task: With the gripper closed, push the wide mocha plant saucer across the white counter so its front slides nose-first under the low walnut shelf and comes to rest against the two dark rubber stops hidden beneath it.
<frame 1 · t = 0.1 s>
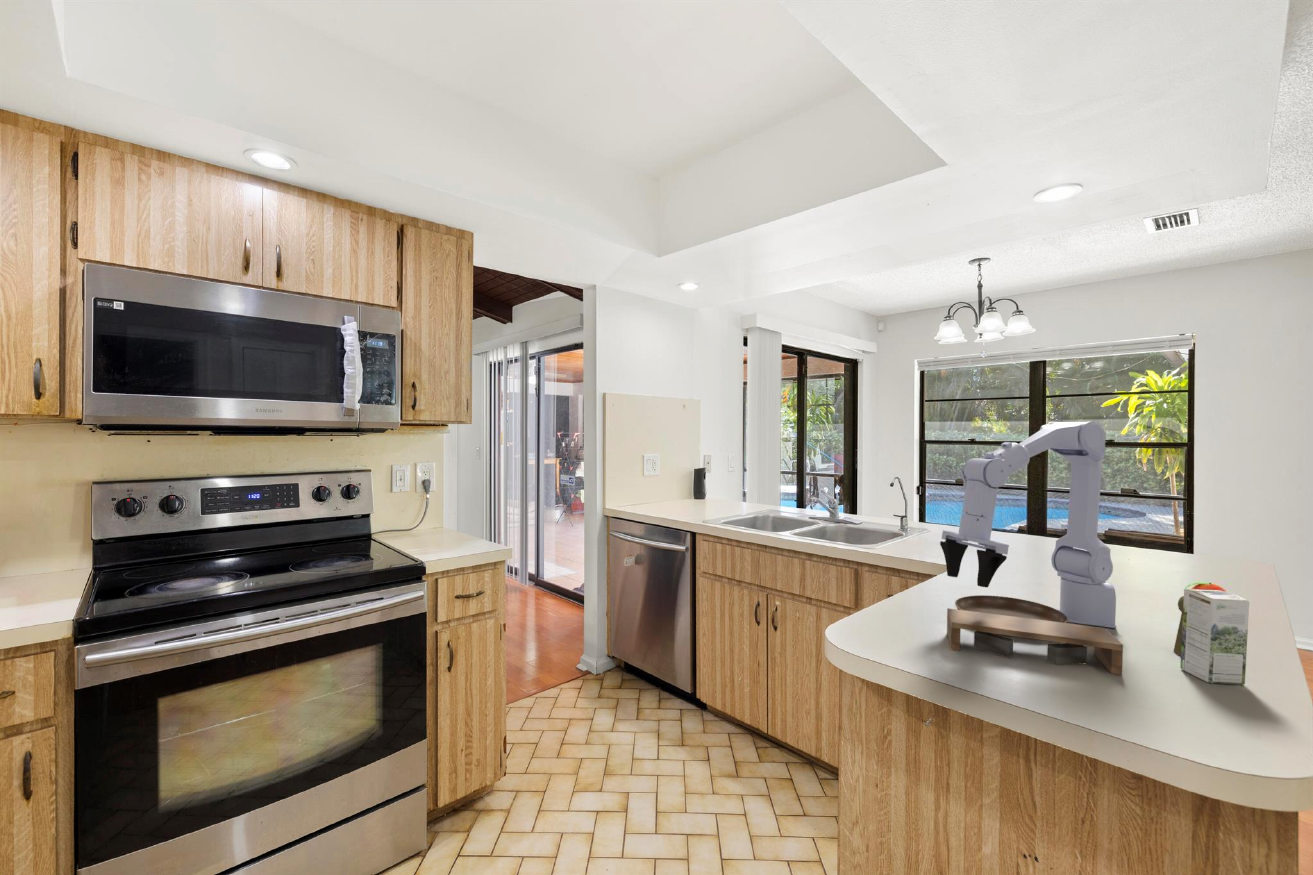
hand: (966, 581, 115), 11 cm above the countertop, tool pointing down, fingers open, 7 cm apart
walnut shelf: (1026, 652, 105), on the countertop
plant saucer: (1008, 624, 121), on the countertop
cork: (1195, 656, 104), on the countertop
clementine: (1205, 613, 130), on the countertop
syrup box: (1212, 678, 95), on the countertop
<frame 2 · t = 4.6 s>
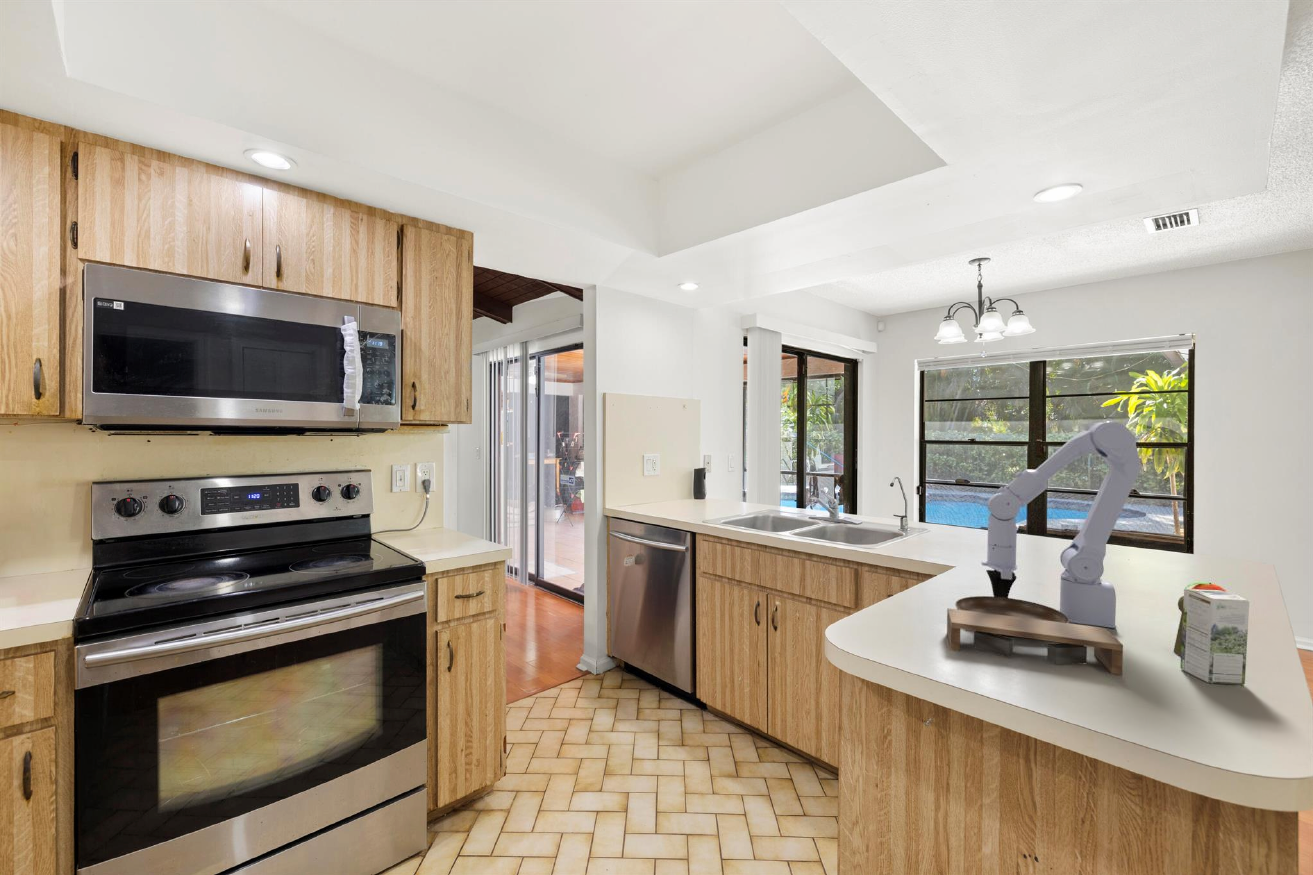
hand: (1000, 602, 131), 1 cm above the countertop, tool pointing down, fingers closed
plant saucer: (1009, 625, 120), on the countertop, touching gripper
everything else where it was.
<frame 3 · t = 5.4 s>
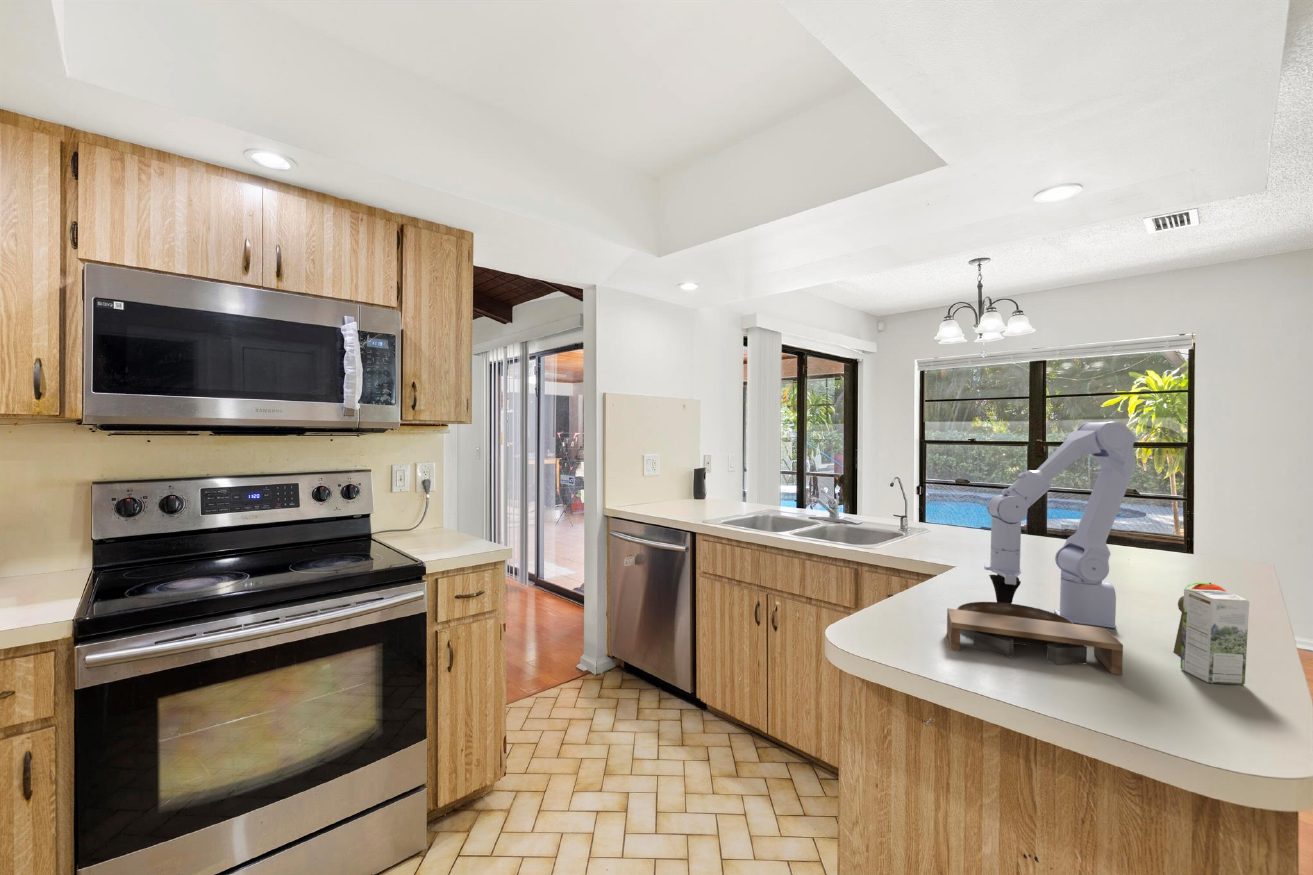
hand: (1003, 608, 126), 1 cm above the countertop, tool pointing down, fingers closed
plant saucer: (1012, 632, 116), on the countertop, touching gripper
everything else where it was.
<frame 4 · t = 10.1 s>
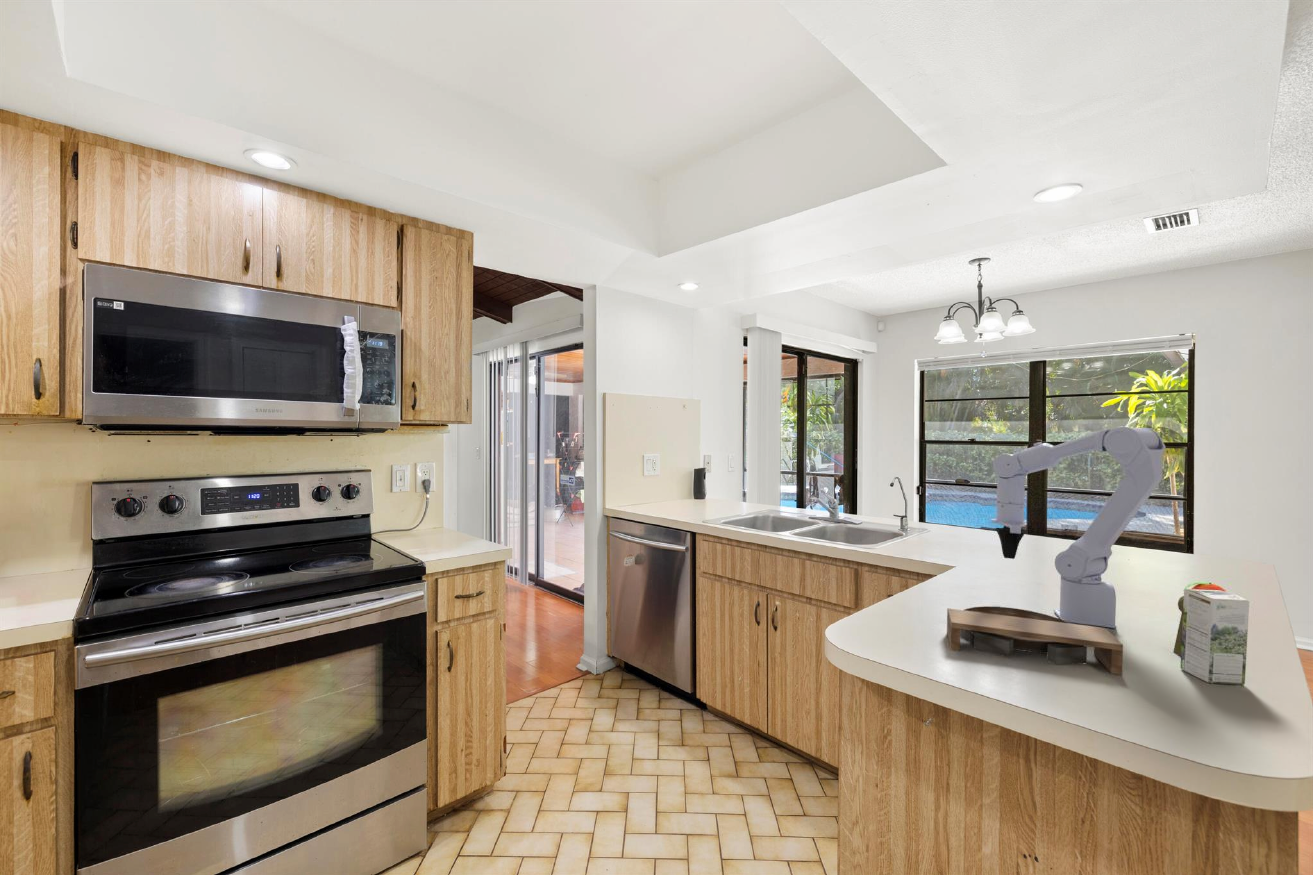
hand: (1009, 557, 137), 10 cm above the countertop, tool pointing down, fingers closed
plant saucer: (1016, 638, 113), on the countertop
everything else where it was.
at the end: plant saucer inside the target area (1.1 cm from its centre), on the countertop; plant saucer tilted 0°; plant saucer moved 9.0 cm from its start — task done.
